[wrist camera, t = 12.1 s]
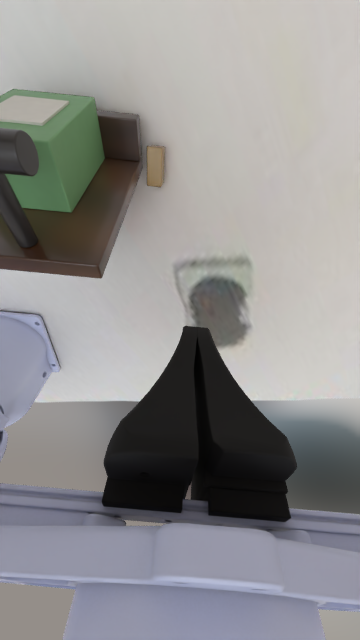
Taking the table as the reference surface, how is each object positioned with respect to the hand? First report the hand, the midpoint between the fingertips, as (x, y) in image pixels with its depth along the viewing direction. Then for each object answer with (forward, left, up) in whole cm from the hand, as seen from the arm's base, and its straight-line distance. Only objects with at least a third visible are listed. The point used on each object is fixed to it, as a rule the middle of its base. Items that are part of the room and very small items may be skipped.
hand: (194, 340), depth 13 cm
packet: (+6, +9, -6) cm, 12 cm away
